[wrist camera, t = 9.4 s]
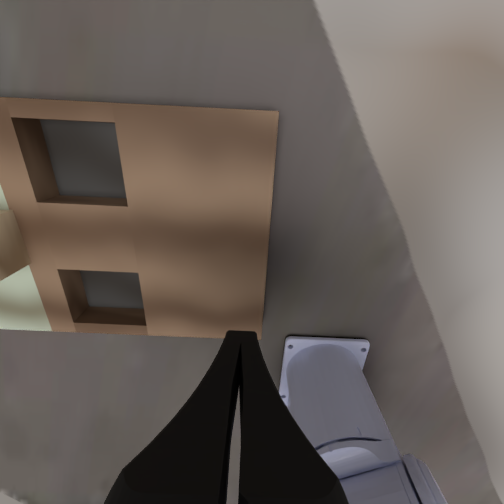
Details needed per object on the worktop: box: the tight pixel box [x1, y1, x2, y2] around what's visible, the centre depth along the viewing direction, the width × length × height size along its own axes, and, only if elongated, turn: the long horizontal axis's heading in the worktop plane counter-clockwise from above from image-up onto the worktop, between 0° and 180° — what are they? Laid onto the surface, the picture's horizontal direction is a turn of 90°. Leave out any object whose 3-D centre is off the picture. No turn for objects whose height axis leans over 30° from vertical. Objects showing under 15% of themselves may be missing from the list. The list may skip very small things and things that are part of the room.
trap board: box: [0, 97, 279, 340], centre depth 19 cm, size 17×23×2 cm
